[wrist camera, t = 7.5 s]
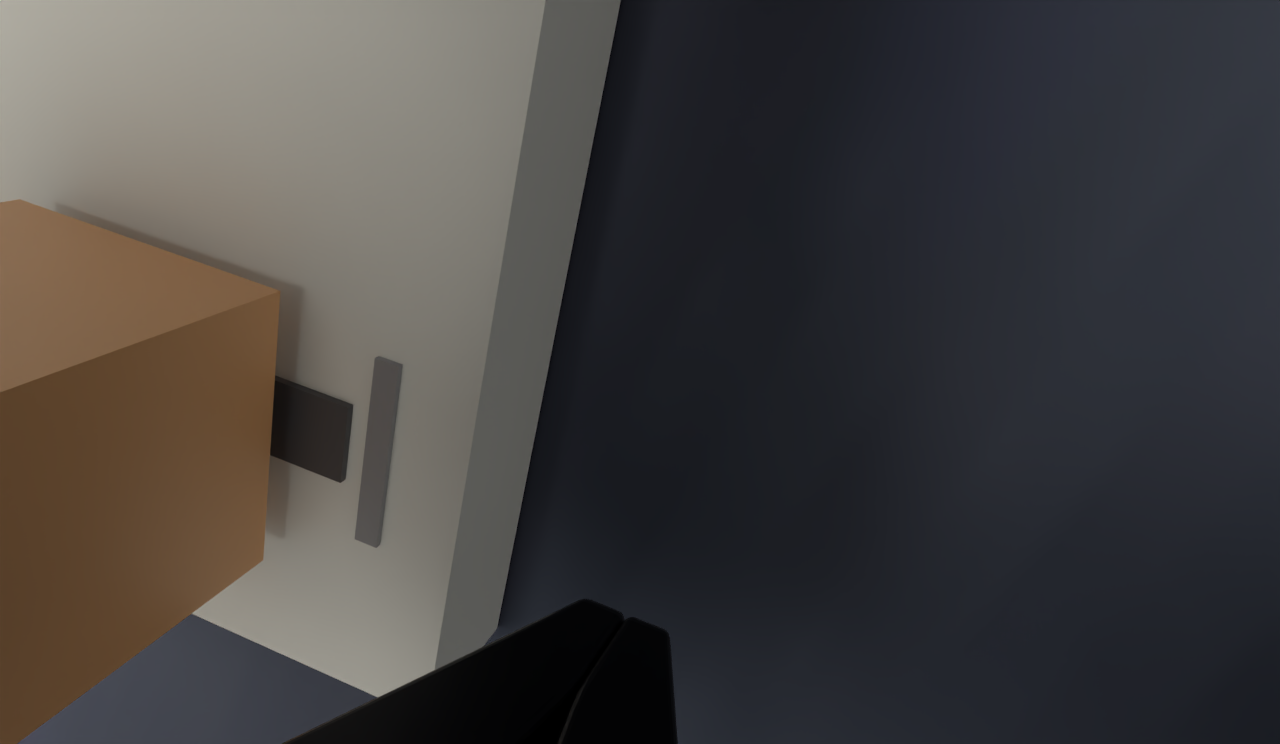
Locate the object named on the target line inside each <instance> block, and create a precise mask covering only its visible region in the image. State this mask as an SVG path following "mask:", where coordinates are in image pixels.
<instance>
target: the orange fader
mask: <svg viewBox="0 0 1280 744" xmlns="http://www.w3.org/2000/svg"><path fill="white" fill-rule="evenodd" d="M279 306H280V291H279V290H277V289H274V288H271V287H268V286H265V285H262V284H259V283H257V282H254V281H251V280H248V279H245V278H242V277H240V276H237V275H234V274H231V273H228V272H225V271H223V270H220V269H217V268H214V267H211V266H208V265H205V264H203V263H200V262H197V261H194V260H191V259H188V258H186V257H183V256H180V255H177V254H174V253H171V252H168V251H166V250H163V249H160V248H157V247H154V246H151V245H149V244H146V243H143V242H140V241H137V240H134V239H132V238H129V237H126V236H123V235H120V234H117V233H114V232H112V231H109V230H106V229H103V228H100V227H97V226H95V225H92V224H89V223H86V222H83V221H80V220H78V219H75V218H72V217H69V216H66V215H63V214H60V213H58V212H55V211H52V210H49V209H46V208H43V207H41V206H38V205H35V204H32V203H29V202H26V201H23V200H21V199H18V200H12V201H6V202H0V744H17V743H18V742H20V741H21V740H22V739H24V738H25V737H26V736H28V735H29V734H30V733H32V732H33V731H34V730H36V729H37V728H38V727H40V726H41V725H42V724H44V723H45V722H46V721H48V720H49V719H50V718H52V717H53V716H54V715H56V714H57V713H59V712H60V711H61V710H63V709H64V708H65V707H67V706H68V705H69V704H71V703H72V702H73V701H75V700H76V699H77V698H79V697H80V696H81V695H83V694H84V693H85V692H87V691H88V690H89V689H91V688H92V687H93V686H95V685H96V684H97V683H99V682H100V681H102V680H103V679H104V678H106V677H107V676H108V675H110V674H111V673H112V672H114V671H115V670H116V669H118V668H119V667H120V666H122V665H123V664H124V663H126V662H127V661H128V660H130V659H131V658H132V657H134V656H135V655H136V654H138V653H139V652H140V651H142V650H143V649H145V648H146V647H147V646H149V645H150V644H151V643H153V642H154V641H155V640H157V639H158V638H159V637H161V636H162V635H163V634H165V633H166V632H167V631H169V630H170V629H171V628H173V627H174V626H175V625H177V624H178V623H179V622H181V621H182V620H183V619H185V618H186V617H188V616H189V615H190V614H192V613H193V612H194V611H196V610H197V609H198V608H200V607H201V606H202V605H204V604H205V603H206V602H208V601H209V600H210V599H212V598H213V597H214V596H216V595H217V594H218V593H220V592H221V591H222V590H224V589H225V588H226V587H228V586H229V585H231V584H232V583H233V582H235V581H236V580H237V579H239V578H240V577H241V576H243V575H244V574H245V573H247V572H248V571H249V570H251V569H252V568H253V567H255V566H256V565H257V564H259V563H260V562H261V561H263V556H264V541H265V525H266V510H267V494H268V478H269V463H270V447H271V431H272V416H273V400H274V384H275V369H276V353H277V338H278V322H279Z"/></svg>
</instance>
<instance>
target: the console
mask: <svg viewBox="0 0 1280 744" xmlns="http://www.w3.org/2000/svg"><path fill="white" fill-rule="evenodd" d="M620 2H621V0H0V202H6V201H12V200H18V199H21V200H23V201H26V202H29V203H32V204H35V205H38V206H41V207H43V208H46V209H49V210H52V211H55V212H58V213H60V214H63V215H66V216H69V217H72V218H75V219H78V220H80V221H83V222H86V223H89V224H92V225H95V226H97V227H100V228H103V229H106V230H109V231H112V232H114V233H117V234H120V235H123V236H126V237H129V238H132V239H134V240H137V241H140V242H143V243H146V244H149V245H151V246H154V247H157V248H160V249H163V250H166V251H168V252H171V253H174V254H177V255H180V256H183V257H186V258H188V259H191V260H194V261H197V262H200V263H203V264H205V265H208V266H211V267H214V268H217V269H220V270H223V271H225V272H228V273H231V274H234V275H237V276H240V277H242V278H245V279H248V280H251V281H254V282H257V283H259V284H262V285H265V286H268V287H271V288H274V289H277V290H279V291H280V306H279V322H278V338H277V353H276V369H275V384H274V400H273V416H272V431H271V447H270V463H269V478H268V494H267V510H266V525H265V541H264V556H263V561H261V562H260V563H259V564H257V565H256V566H255V567H253V568H252V569H251V570H249V571H248V572H247V573H245V574H244V575H243V576H241V577H240V578H239V579H237V580H236V581H235V582H233V583H232V584H231V585H229V586H228V587H226V588H225V589H224V590H222V591H221V592H220V593H218V594H217V595H216V596H214V597H213V598H212V599H210V600H209V601H208V602H206V603H205V604H204V605H202V606H201V607H200V608H198V609H197V610H196V611H194V612H193V613H192V614H194V615H196V616H198V617H200V618H202V619H205V620H207V621H209V622H211V623H214V624H216V625H218V626H220V627H222V628H225V629H227V630H229V631H231V632H234V633H236V634H238V635H240V636H243V637H245V638H247V639H249V640H251V641H254V642H256V643H258V644H260V645H263V646H265V647H267V648H269V649H271V650H274V651H276V652H278V653H280V654H283V655H285V656H287V657H289V658H291V659H294V660H296V661H298V662H300V663H303V664H305V665H307V666H309V667H311V668H314V669H316V670H318V671H320V672H323V673H325V674H327V675H329V676H331V677H334V678H336V679H338V680H340V681H343V682H345V683H347V684H349V685H351V686H354V687H356V688H358V689H360V690H363V691H365V692H367V693H369V694H372V695H374V696H376V697H380V696H382V695H384V694H386V693H388V692H390V691H392V690H394V689H396V688H398V687H400V686H402V685H404V684H407V683H409V682H411V681H413V680H415V679H417V678H419V677H421V676H423V675H425V674H427V673H429V672H431V671H433V670H436V669H438V668H440V667H442V666H444V665H446V664H448V663H450V662H452V661H454V660H456V659H458V658H460V657H463V656H465V655H467V654H469V653H471V652H473V651H475V650H477V649H479V648H481V647H483V646H484V645H485V643H486V642H487V641H488V640H489V638H490V637H491V636H492V634H493V633H494V632H495V631H496V629H497V626H498V621H499V616H500V611H501V606H502V601H503V596H504V591H505V586H506V581H507V576H508V570H509V565H510V560H511V555H512V550H513V545H514V540H515V535H516V530H517V525H518V520H519V515H520V510H521V505H522V499H523V494H524V489H525V484H526V479H527V474H528V469H529V464H530V459H531V454H532V449H533V444H534V439H535V434H536V428H537V423H538V418H539V413H540V408H541V403H542V398H543V393H544V388H545V383H546V378H547V373H548V368H549V363H550V357H551V352H552V347H553V342H554V337H555V332H556V327H557V322H558V317H559V312H560V307H561V302H562V297H563V292H564V286H565V281H566V276H567V271H568V266H569V261H570V256H571V251H572V246H573V241H574V236H575V231H576V226H577V221H578V215H579V210H580V205H581V200H582V195H583V190H584V185H585V180H586V175H587V170H588V165H589V160H590V155H591V150H592V144H593V139H594V134H595V129H596V124H597V119H598V114H599V109H600V104H601V99H602V94H603V89H604V84H605V79H606V73H607V68H608V63H609V58H610V53H611V48H612V43H613V38H614V33H615V28H616V23H617V18H618V13H619V8H620Z"/></svg>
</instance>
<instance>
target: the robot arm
mask: <svg viewBox="0 0 1280 744" xmlns="http://www.w3.org/2000/svg"><path fill="white" fill-rule="evenodd" d="M282 744H678V740H677V727H676V713H675V699H674V686H673V672H672V658H671V645H670V637H669V634H668V632H667V631H666V630H664V629H662V628H660V627H657V626H655V625H652V624H650V623H647V622H645V621H642V620H640V619H637V618H635V617H630V618H627V619H626V620H624V616H623V614H622V613H621V612H620V611H618V610H615V609H613V608H610V607H608V606H605V605H603V604H600V603H598V602H595V601H593V600H589V599H582V600H579V601H577V602H574V603H572V604H570V605H568V606H566V607H564V608H562V609H560V610H558V611H556V612H554V613H552V614H550V615H548V616H545V617H543V618H541V619H539V620H537V621H535V622H533V623H531V624H529V625H527V626H525V627H523V628H521V629H519V630H516V631H514V632H512V633H510V634H508V635H506V636H504V637H502V638H500V639H498V640H496V641H494V642H492V643H489V644H487V645H485V646H483V647H481V648H479V649H477V650H475V651H473V652H471V653H469V654H467V655H465V656H463V657H460V658H458V659H456V660H454V661H452V662H450V663H448V664H446V665H444V666H442V667H440V668H438V669H436V670H433V671H431V672H429V673H427V674H425V675H423V676H421V677H419V678H417V679H415V680H413V681H411V682H409V683H407V684H404V685H402V686H400V687H398V688H396V689H394V690H392V691H390V692H388V693H386V694H384V695H382V696H380V697H378V698H375V699H373V700H371V701H369V702H367V703H365V704H363V705H361V706H359V707H357V708H355V709H353V710H351V711H348V712H346V713H344V714H342V715H340V716H338V717H336V718H334V719H332V720H330V721H328V722H326V723H324V724H322V725H319V726H317V727H315V728H313V729H311V730H309V731H307V732H305V733H303V734H301V735H299V736H297V737H295V738H292V739H290V740H288V741H286V742H284V743H282Z"/></svg>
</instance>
